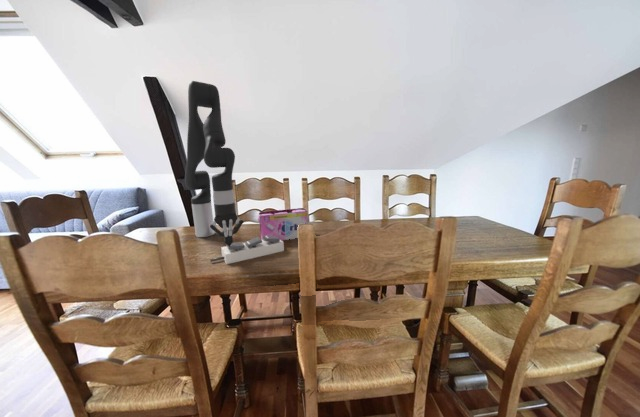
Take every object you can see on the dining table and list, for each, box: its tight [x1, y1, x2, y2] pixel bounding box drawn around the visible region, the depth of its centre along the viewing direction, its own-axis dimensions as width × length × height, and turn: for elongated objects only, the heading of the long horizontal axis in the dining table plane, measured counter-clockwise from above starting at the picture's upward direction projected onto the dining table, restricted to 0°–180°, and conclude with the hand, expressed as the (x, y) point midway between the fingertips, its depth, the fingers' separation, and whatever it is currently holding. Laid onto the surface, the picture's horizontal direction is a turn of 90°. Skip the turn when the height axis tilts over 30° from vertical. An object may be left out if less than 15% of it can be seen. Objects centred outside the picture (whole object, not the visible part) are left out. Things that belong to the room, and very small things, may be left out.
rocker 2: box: [244, 236, 262, 248], centre depth 105 cm, size 5×6×1 cm
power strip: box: [209, 238, 285, 265], centre depth 106 cm, size 9×29×5 cm, turn 121°
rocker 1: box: [225, 241, 245, 250], centre depth 101 cm, size 5×6×1 cm
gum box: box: [257, 207, 309, 241], centre depth 125 cm, size 24×8×14 cm, turn 110°
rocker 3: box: [263, 236, 280, 242], centre depth 109 cm, size 5×6×1 cm
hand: (228, 244), depth 100 cm, fingers closed
